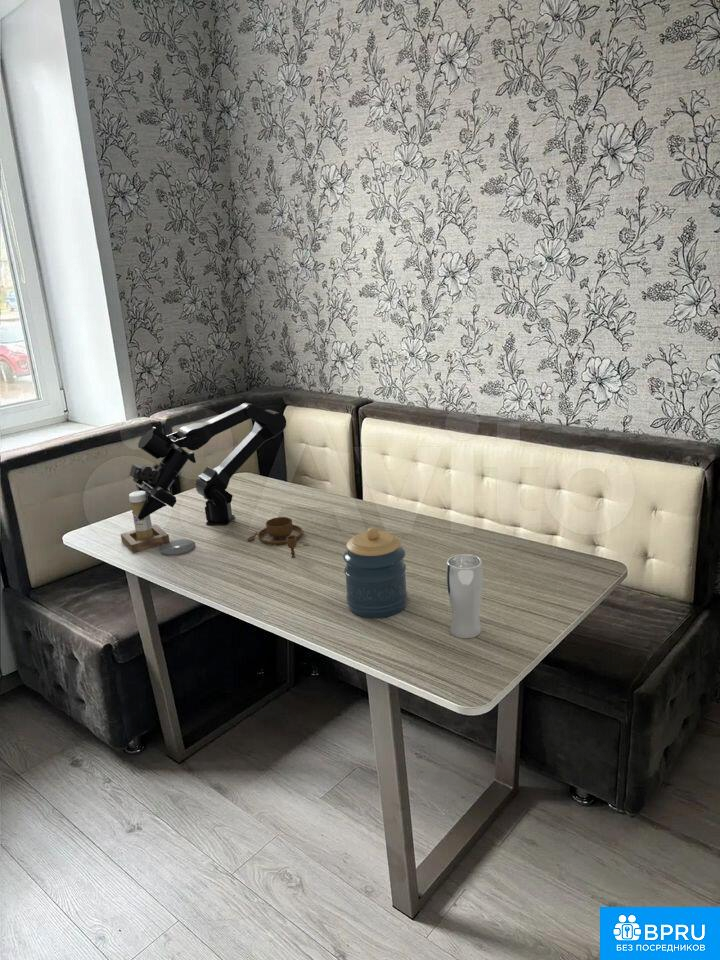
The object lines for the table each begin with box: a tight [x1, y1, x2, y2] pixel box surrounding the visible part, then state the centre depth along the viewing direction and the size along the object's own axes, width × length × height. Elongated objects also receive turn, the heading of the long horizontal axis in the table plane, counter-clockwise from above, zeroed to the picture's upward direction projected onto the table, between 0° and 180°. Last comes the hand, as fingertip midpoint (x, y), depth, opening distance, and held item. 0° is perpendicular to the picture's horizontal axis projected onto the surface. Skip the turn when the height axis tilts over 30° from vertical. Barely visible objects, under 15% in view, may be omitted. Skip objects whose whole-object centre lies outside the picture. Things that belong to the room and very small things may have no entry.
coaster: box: [159, 538, 196, 556], centre depth 193 cm, size 9×9×1 cm
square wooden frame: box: [120, 524, 170, 554], centre depth 198 cm, size 10×10×2 cm
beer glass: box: [445, 553, 484, 639], centre depth 142 cm, size 7×7×15 cm
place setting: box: [246, 516, 309, 559], centre depth 191 cm, size 18×20×6 cm
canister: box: [342, 526, 408, 619], centre depth 154 cm, size 13×13×18 cm
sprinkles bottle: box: [128, 490, 154, 541], centre depth 197 cm, size 5×5×14 cm
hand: (136, 516), depth 196 cm, fingers closed on sprinkles bottle, 4 cm apart
